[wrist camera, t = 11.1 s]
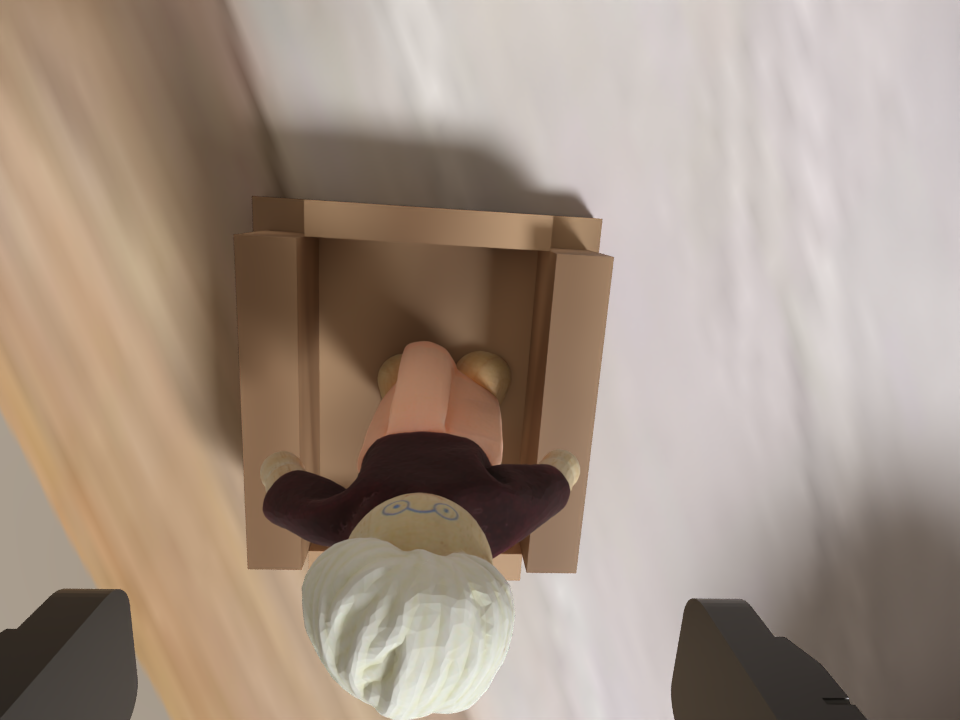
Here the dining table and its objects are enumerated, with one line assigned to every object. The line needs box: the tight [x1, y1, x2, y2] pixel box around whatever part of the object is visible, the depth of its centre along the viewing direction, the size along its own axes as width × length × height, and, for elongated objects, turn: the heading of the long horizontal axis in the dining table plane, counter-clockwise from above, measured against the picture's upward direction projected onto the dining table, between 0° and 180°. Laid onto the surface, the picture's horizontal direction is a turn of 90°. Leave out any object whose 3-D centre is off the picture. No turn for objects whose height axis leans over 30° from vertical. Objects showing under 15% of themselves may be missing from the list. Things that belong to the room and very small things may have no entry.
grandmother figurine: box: [260, 341, 580, 720], centre depth 14 cm, size 8×4×13 cm, turn 100°
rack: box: [234, 196, 614, 580], centre depth 19 cm, size 11×12×4 cm
